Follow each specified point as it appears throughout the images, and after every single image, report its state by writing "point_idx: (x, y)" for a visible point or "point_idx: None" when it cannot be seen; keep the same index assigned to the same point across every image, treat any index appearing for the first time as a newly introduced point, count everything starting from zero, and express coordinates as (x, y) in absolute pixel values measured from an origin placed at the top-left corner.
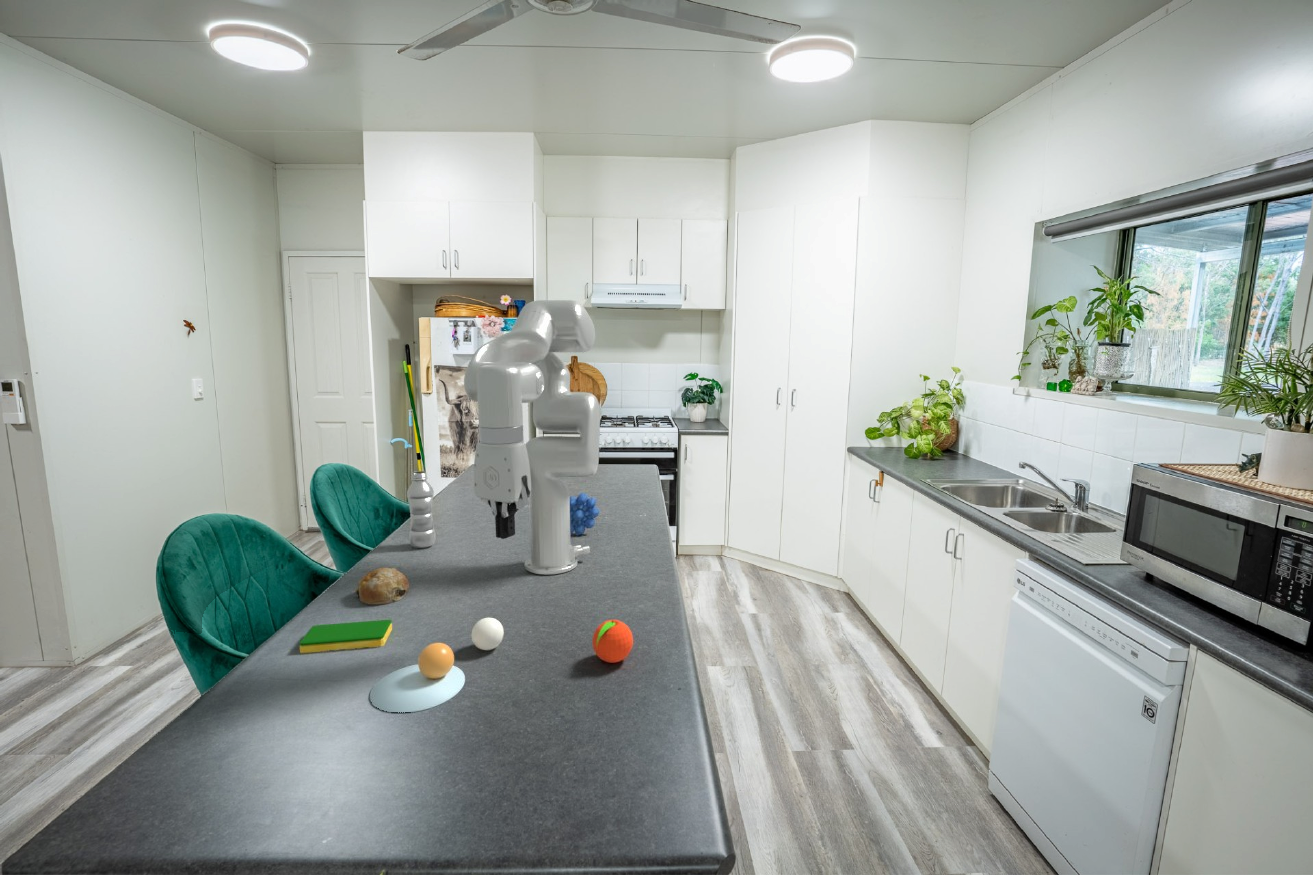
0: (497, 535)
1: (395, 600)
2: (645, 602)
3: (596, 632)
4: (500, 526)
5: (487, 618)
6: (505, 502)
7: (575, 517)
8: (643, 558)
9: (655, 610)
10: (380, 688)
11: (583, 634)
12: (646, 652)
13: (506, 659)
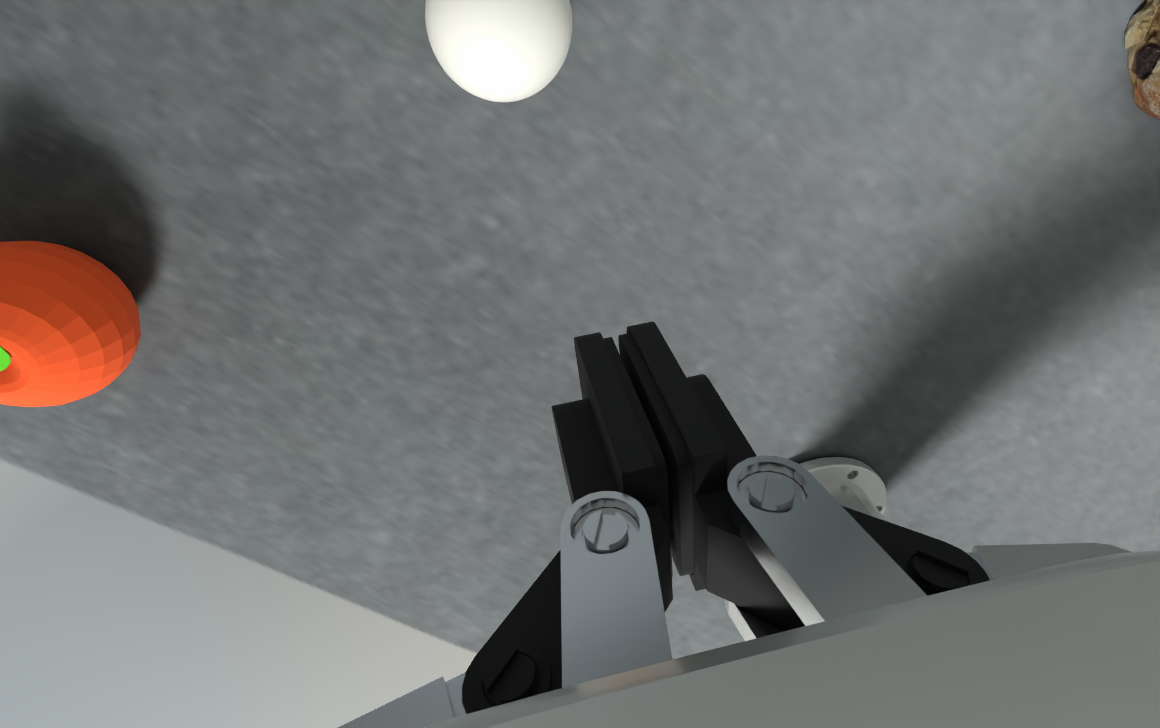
0: (638, 332)
1: (1138, 13)
2: (391, 553)
3: (26, 293)
4: (617, 398)
5: (511, 37)
6: (458, 720)
7: None
8: None
9: (324, 546)
10: None
11: (333, 330)
12: None
13: (352, 5)
